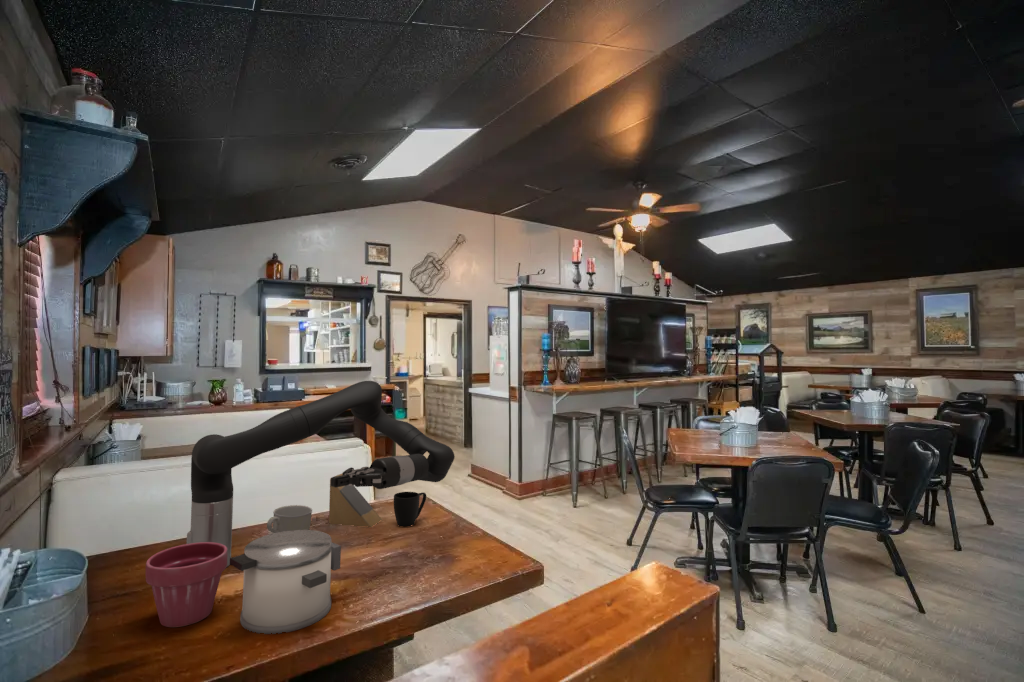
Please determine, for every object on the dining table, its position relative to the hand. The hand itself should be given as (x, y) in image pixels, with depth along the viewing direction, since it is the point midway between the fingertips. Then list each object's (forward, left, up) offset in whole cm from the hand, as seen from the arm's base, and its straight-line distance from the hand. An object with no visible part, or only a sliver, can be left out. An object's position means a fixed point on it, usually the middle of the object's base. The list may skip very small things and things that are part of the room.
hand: (332, 482), depth 117 cm
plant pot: (-27, -7, -25) cm, 38 cm away
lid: (-8, -9, -13) cm, 17 cm away
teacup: (-18, +38, -25) cm, 49 cm away
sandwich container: (0, +51, -26) cm, 57 cm away
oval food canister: (-7, -8, -25) cm, 27 cm away
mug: (+18, +47, -25) cm, 56 cm away
